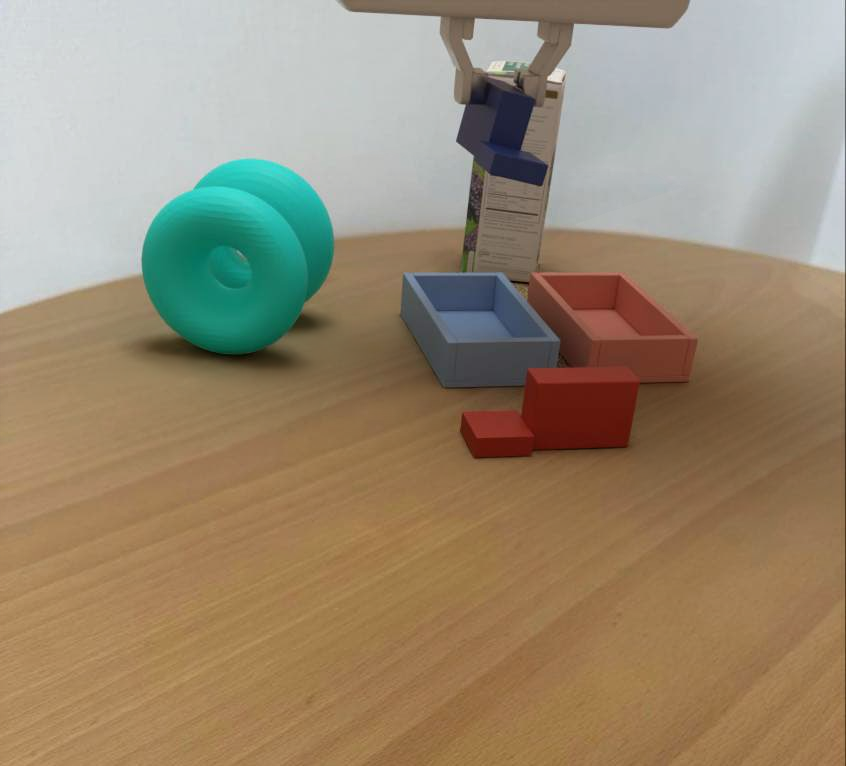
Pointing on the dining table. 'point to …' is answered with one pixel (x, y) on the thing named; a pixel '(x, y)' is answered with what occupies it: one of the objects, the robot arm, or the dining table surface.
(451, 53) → the robot arm
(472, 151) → the dark blue l-shaped piece
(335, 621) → the dining table surface
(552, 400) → the two-tier red step
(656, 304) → the red bin
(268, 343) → the turquoise yo-yo
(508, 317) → the blue bin
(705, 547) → the dining table surface
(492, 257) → the syrup box
